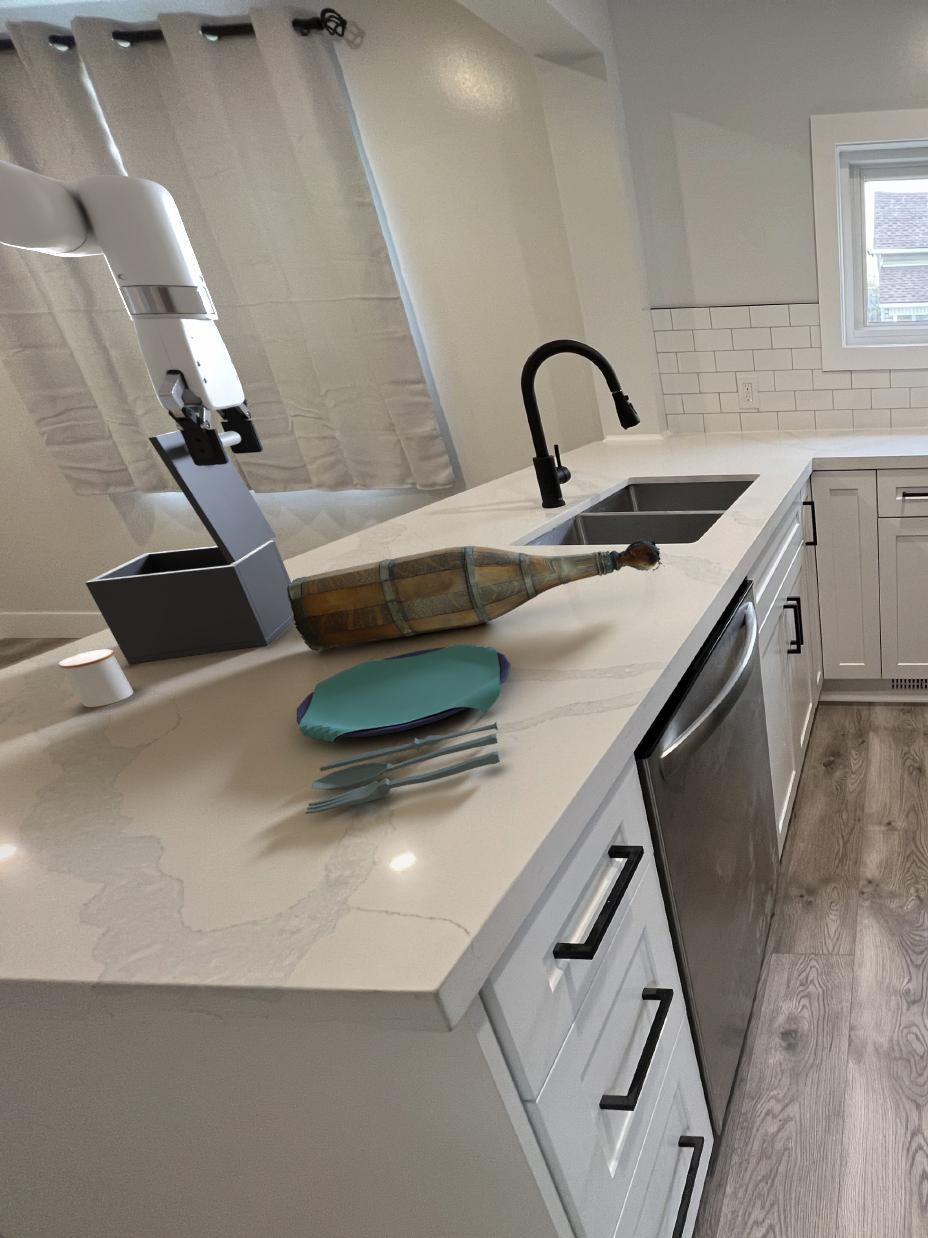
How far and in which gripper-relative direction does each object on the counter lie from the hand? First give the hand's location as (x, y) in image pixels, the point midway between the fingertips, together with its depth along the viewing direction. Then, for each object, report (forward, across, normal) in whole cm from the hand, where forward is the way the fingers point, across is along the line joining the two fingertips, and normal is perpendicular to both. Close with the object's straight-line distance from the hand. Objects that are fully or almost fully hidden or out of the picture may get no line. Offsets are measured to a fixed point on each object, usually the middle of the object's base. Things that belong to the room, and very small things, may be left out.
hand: (231, 458), depth 86 cm
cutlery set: (+23, +36, +21) cm, 48 cm away
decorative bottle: (+23, +8, +27) cm, 37 cm away
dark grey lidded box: (+23, 0, -9) cm, 24 cm away
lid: (+4, 0, -3) cm, 5 cm away
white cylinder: (+23, +17, -13) cm, 31 cm away
